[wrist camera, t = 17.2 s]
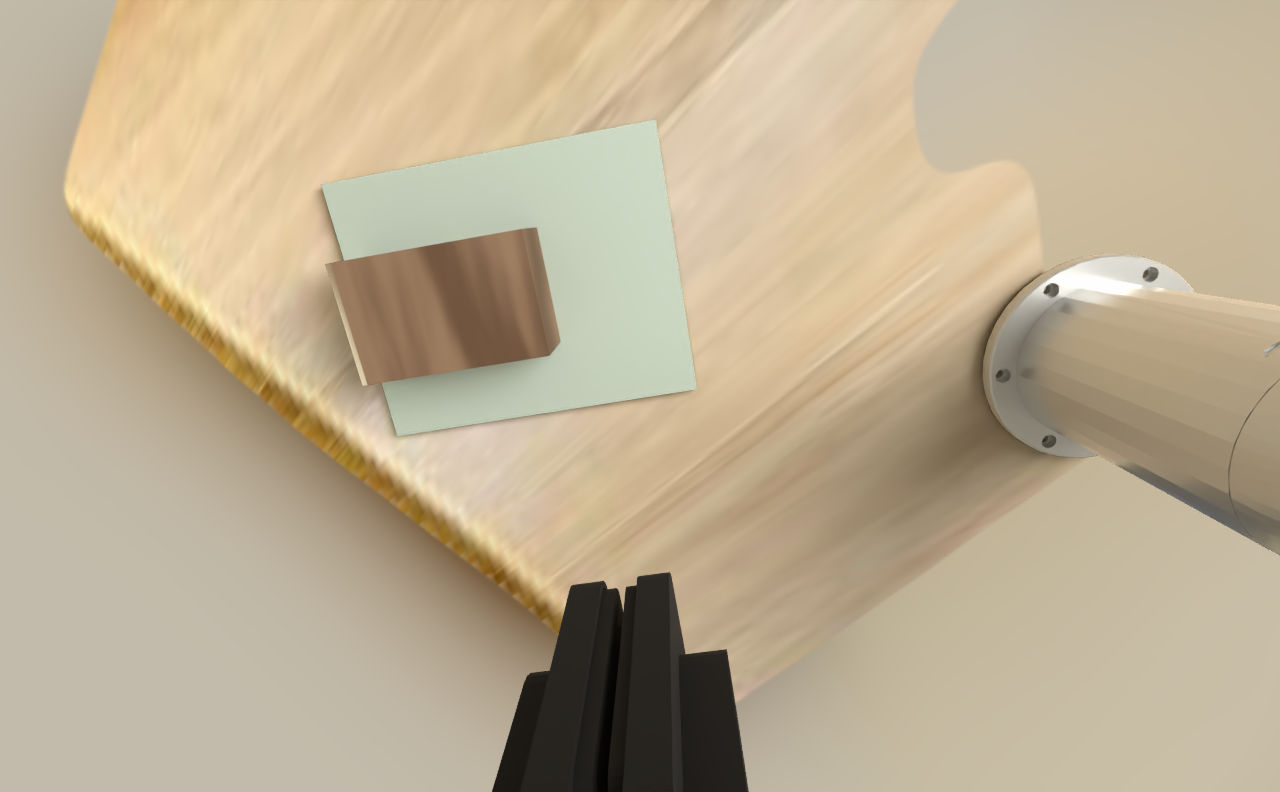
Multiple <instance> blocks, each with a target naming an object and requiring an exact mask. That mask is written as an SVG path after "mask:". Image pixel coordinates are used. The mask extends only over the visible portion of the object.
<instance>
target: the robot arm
mask: <svg viewBox="0 0 1280 792" xmlns="http://www.w3.org/2000/svg"><path fill="white" fill-rule="evenodd" d="M1045 287H1046V290H1045V291H1044V288H1045ZM998 371H999V374H998V375H996V374H997V373H998ZM983 384H984V390H985V395H986V398H987V401H988V403H989V405H990V408H991V410H992V412H993V414H994V415H995V417H996V418H997V419H998V421H999V422H1000V424H1001V425H1002V426H1003V427H1004V428H1005V429H1006V430H1007V431H1008V432H1010V433H1011V434H1012V435H1013V436H1014V437H1015V438H1017V439H1019V440H1020V441H1022V442H1023V443H1025V444H1026V445H1028V446H1030V447H1032V448H1034V449H1036V450H1038V451H1040V452H1043V453H1046V454H1051V455H1055V456H1060V457H1071V458H1086V457H1093V456H1100V457H1102V458H1104V459H1106V460H1108V461H1110V462H1111V463H1113V464H1115V465H1117V466H1118V467H1120V468H1122V469H1124V470H1126V471H1127V472H1129V473H1131V474H1133V475H1135V476H1137V477H1138V478H1140V479H1142V480H1144V481H1146V482H1147V483H1149V484H1151V485H1153V486H1155V487H1156V488H1158V489H1160V490H1162V491H1164V492H1166V493H1167V494H1169V495H1171V496H1173V497H1175V498H1176V499H1178V500H1180V501H1182V502H1184V503H1185V504H1187V505H1189V506H1191V507H1193V508H1194V509H1196V510H1198V511H1200V512H1202V513H1203V514H1205V515H1207V516H1209V517H1211V518H1213V519H1215V520H1216V521H1218V522H1220V523H1222V524H1223V525H1225V526H1227V527H1229V528H1231V529H1233V530H1234V531H1236V532H1238V533H1240V534H1241V535H1243V536H1245V537H1247V538H1249V539H1251V540H1252V541H1254V542H1256V543H1258V544H1260V545H1261V546H1263V547H1265V548H1267V549H1269V550H1271V551H1273V552H1275V553H1277V554H1279V555H1280V305H1273V304H1266V303H1259V302H1253V301H1246V300H1239V299H1232V298H1225V297H1219V296H1212V295H1205V294H1198V293H1195V292H1194V290H1193V288H1192V287H1191V286H1190V285H1189V284H1188V283H1187V282H1186V281H1185V280H1184V279H1183V278H1182V277H1181V276H1180V275H1179V274H1178V273H1177V272H1175V271H1174V270H1172V269H1170V268H1169V267H1167V266H1166V265H1164V264H1162V263H1160V262H1157V261H1154V260H1151V259H1148V258H1145V257H1141V256H1133V255H1125V254H1098V255H1091V256H1085V257H1080V258H1077V259H1074V260H1071V261H1069V262H1066V263H1063V264H1060V265H1058V266H1056V267H1054V268H1052V269H1051V270H1049V271H1047V272H1045V273H1043V274H1042V275H1040V276H1039V277H1037V278H1036V279H1035V280H1033V281H1032V282H1031V283H1030V284H1028V285H1027V286H1026V287H1024V288H1023V289H1022V290H1021V291H1020V292H1019V293H1018V294H1017V295H1016V296H1015V298H1014V299H1013V300H1012V301H1011V302H1010V303H1009V304H1008V305H1007V307H1006V308H1005V310H1004V311H1003V313H1002V314H1001V316H1000V317H999V319H998V320H997V322H996V323H995V326H994V328H993V330H992V333H991V335H990V337H989V339H988V342H987V346H986V351H985V355H984V359H983ZM492 792H749V791H748V785H747V778H746V772H745V764H744V758H743V751H742V745H741V738H740V731H739V725H738V718H737V712H736V705H735V699H734V692H733V686H732V680H731V673H730V667H729V661H728V655H727V649H726V650H718V651H709V652H701V653H693V654H685V649H684V643H683V638H682V632H681V627H680V621H679V616H678V610H677V605H676V599H675V594H674V588H673V583H672V578H671V574H670V572H668V573H660V574H653V575H645V576H638V578H637V586H630V587H626V592H625V602H624V612H623V608H622V604H621V599H620V595H619V591H618V589H617V588H614V589H607V586H606V584H605V582H604V581H600V582H592V583H585V584H577V585H572V586H571V588H570V591H569V595H568V599H567V603H566V607H565V611H564V615H563V619H562V623H561V627H560V631H559V635H558V640H557V644H556V648H555V652H554V656H553V660H552V664H551V668H550V671H544V672H535V673H530V674H529V675H528V676H527V678H526V680H525V682H524V685H523V689H522V692H521V695H520V699H519V702H518V705H517V709H516V712H515V716H514V719H513V722H512V726H511V729H510V733H509V736H508V739H507V743H506V746H505V750H504V753H503V756H502V760H501V763H500V767H499V770H498V774H497V777H496V780H495V783H494V787H493V790H492Z"/></svg>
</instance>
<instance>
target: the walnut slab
mask: <svg viewBox="0 0 1280 792" xmlns="http://www.w3.org/2000/svg"><path fill="white" fill-rule="evenodd" d="M325 266H326V269H327V273H328V276H329V279H330V282H331V286H332V289H333V292H334V295H335V298H336V302H337V305H338V308H339V311H340V315H341V318H342V321H343V324H344V328H345V331H346V334H347V337H348V340H349V344H350V347H351V350H352V353H353V357H354V360H355V363H356V366H357V370H358V373H359V376H360V379H361V382H362V386H366V385H372V384H378V383H384V382H390V381H397V380H403V379H409V378H415V377H422V376H428V375H434V374H440V373H446V372H453V371H459V370H465V369H471V368H478V367H484V366H490V365H496V364H502V363H509V362H515V361H521V360H527V359H534V358H540V357H546V356H550V355H551V353H552V352H553V351H554V350H555V348H556V347H557V346H558V345H559V343H560V342H561V340H560V335H559V330H558V326H557V321H556V316H555V311H554V307H553V302H552V297H551V292H550V288H549V283H548V278H547V273H546V268H545V264H544V259H543V254H542V249H541V245H540V240H539V235H538V230H537V227H535V228H525V229H518V230H513V231H507V232H501V233H496V234H490V235H485V236H479V237H473V238H468V239H462V240H457V241H451V242H445V243H440V244H434V245H429V246H423V247H417V248H412V249H406V250H401V251H395V252H390V253H384V254H378V255H373V256H367V257H362V258H356V259H350V260H345V261H339V262H334V263H328V264H325Z"/></svg>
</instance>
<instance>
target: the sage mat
mask: <svg viewBox="0 0 1280 792" xmlns="http://www.w3.org/2000/svg"><path fill="white" fill-rule="evenodd" d="M321 186H322V189H323V193H324V196H325V199H326V202H327V206H328V209H329V212H330V216H331V219H332V222H333V225H334V229H335V232H336V235H337V239H338V242H339V245H340V249H341V252H342V255H343V258H344V261H345V260H350V259H356V258H362V257H367V256H373V255H378V254H384V253H390V252H395V251H401V250H406V249H412V248H417V247H423V246H429V245H434V244H440V243H445V242H451V241H457V240H462V239H468V238H473V237H479V236H485V235H490V234H496V233H501V232H507V231H513V230H518V229H525V228H535V227H537V230H538V235H539V240H540V245H541V249H542V254H543V259H544V264H545V268H546V273H547V278H548V283H549V288H550V292H551V297H552V302H553V307H554V311H555V316H556V321H557V326H558V330H559V335H560V340H561V342H560V343H559V345H558V346H557V347H556V348H555V350H554V351H553V352H552V353H551V355H550V356H546V357H540V358H534V359H527V360H521V361H515V362H509V363H502V364H496V365H490V366H484V367H478V368H471V369H465V370H459V371H453V372H446V373H440V374H434V375H428V376H422V377H415V378H409V379H403V380H397V381H390V382H384V383H382V387H383V390H384V393H385V397H386V400H387V403H388V406H389V410H390V413H391V416H392V420H393V423H394V426H395V429H396V433H397V436H402V435H408V434H415V433H421V432H428V431H434V430H440V429H447V428H453V427H459V426H466V425H472V424H479V423H485V422H491V421H498V420H504V419H510V418H517V417H523V416H530V415H536V414H542V413H549V412H555V411H562V410H568V409H574V408H581V407H587V406H593V405H600V404H606V403H613V402H619V401H625V400H632V399H638V398H644V397H651V396H657V395H664V394H670V393H676V392H683V391H689V390H696V389H697V385H696V379H695V372H694V366H693V359H692V353H691V346H690V340H689V333H688V327H687V320H686V314H685V307H684V301H683V294H682V288H681V281H680V275H679V268H678V262H677V255H676V249H675V242H674V236H673V229H672V223H671V216H670V210H669V203H668V197H667V190H666V183H665V177H664V170H663V164H662V157H661V151H660V144H659V138H658V131H657V125H656V120H650V121H645V122H640V123H635V124H630V125H625V126H620V127H614V128H609V129H604V130H599V131H594V132H589V133H584V134H578V135H573V136H568V137H563V138H558V139H553V140H548V141H543V142H537V143H532V144H527V145H522V146H517V147H512V148H507V149H501V150H496V151H491V152H486V153H481V154H476V155H471V156H465V157H460V158H455V159H450V160H445V161H440V162H435V163H429V164H424V165H419V166H414V167H409V168H404V169H399V170H394V171H388V172H383V173H378V174H373V175H368V176H363V177H358V178H352V179H347V180H342V181H337V182H332V183H327V184H322V185H321Z"/></svg>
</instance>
